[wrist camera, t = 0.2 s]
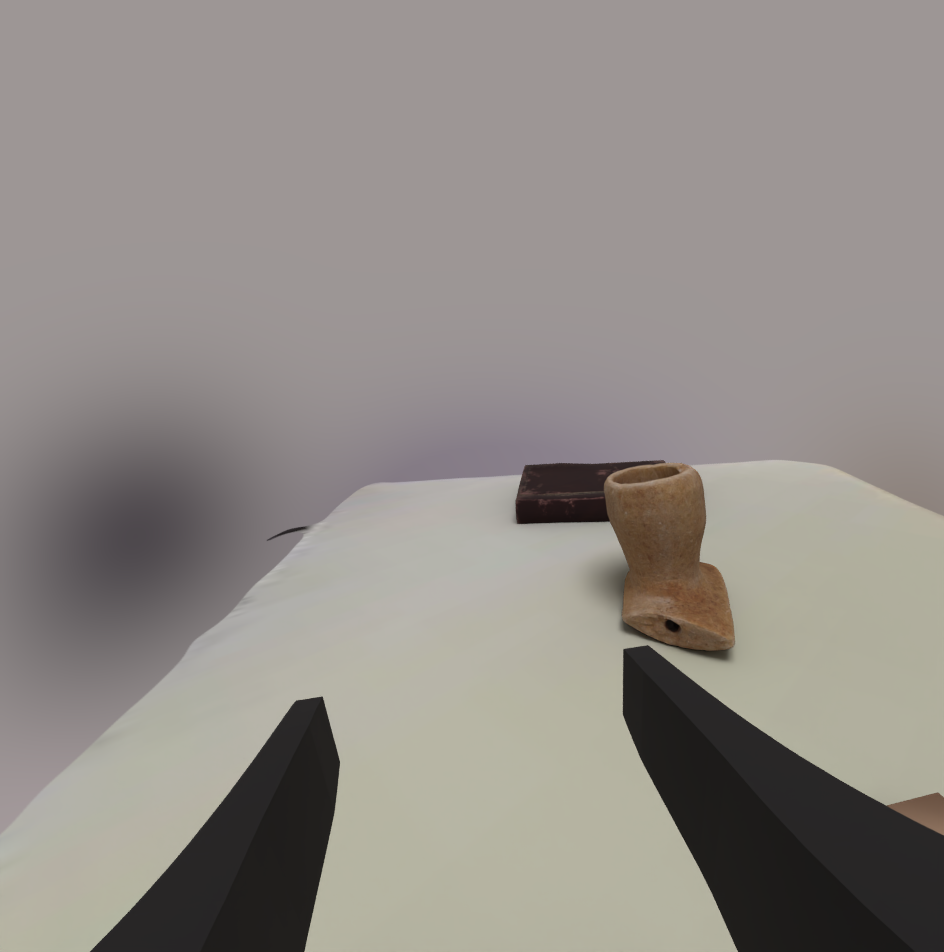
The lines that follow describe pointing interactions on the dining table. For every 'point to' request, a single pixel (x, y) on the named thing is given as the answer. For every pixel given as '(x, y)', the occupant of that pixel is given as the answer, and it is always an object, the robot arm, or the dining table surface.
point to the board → (924, 811)
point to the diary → (566, 492)
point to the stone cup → (668, 557)
